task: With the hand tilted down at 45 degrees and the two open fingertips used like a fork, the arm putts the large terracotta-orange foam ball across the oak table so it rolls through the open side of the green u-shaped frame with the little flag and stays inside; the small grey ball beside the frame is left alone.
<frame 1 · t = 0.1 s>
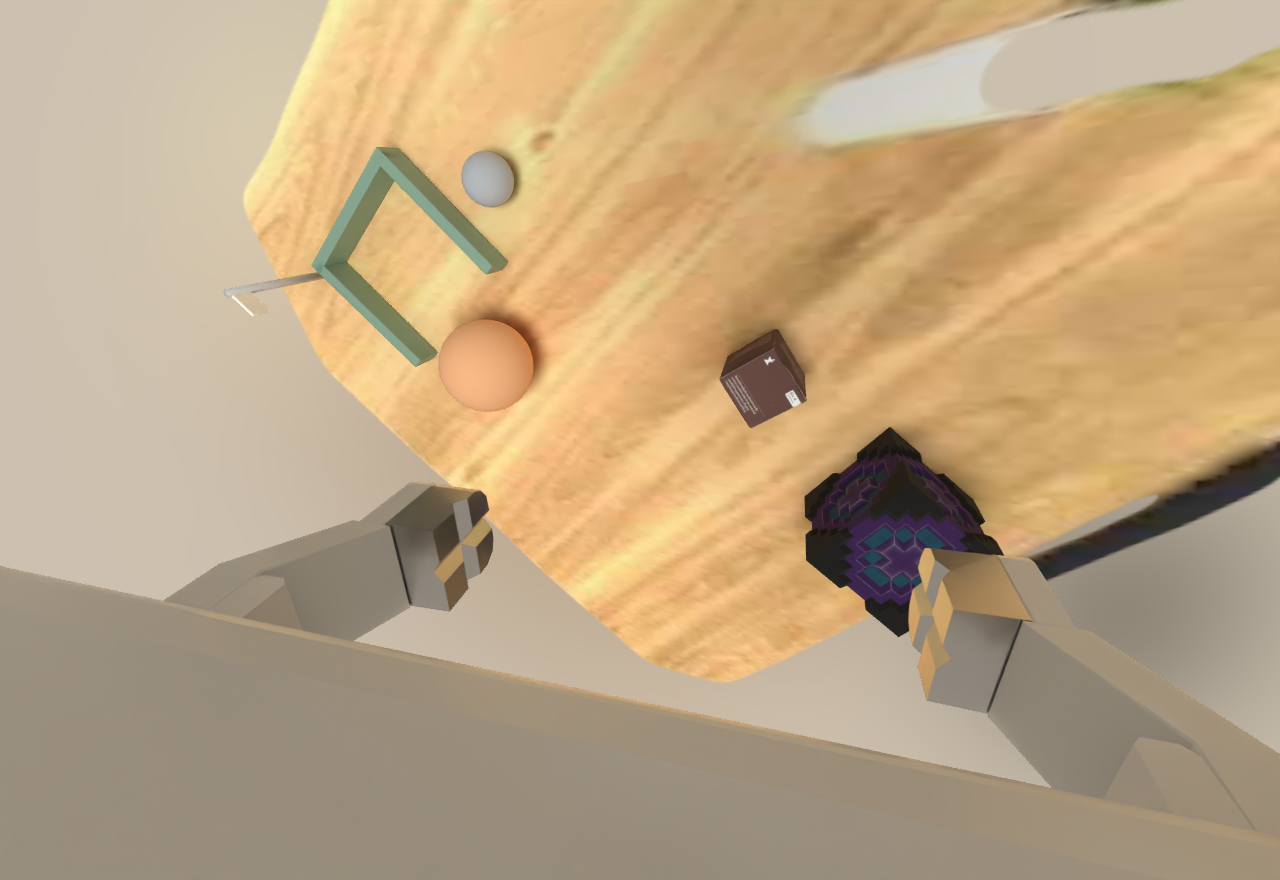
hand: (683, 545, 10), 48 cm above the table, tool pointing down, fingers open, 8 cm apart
energy cube: (885, 496, 60), on the table
box: (766, 365, 57), on the table
ball: (487, 366, 60), point 5 cm above the table
green u-shaped frame: (419, 263, 62), on the table
grey ball: (488, 179, 54), point 2 cm above the table
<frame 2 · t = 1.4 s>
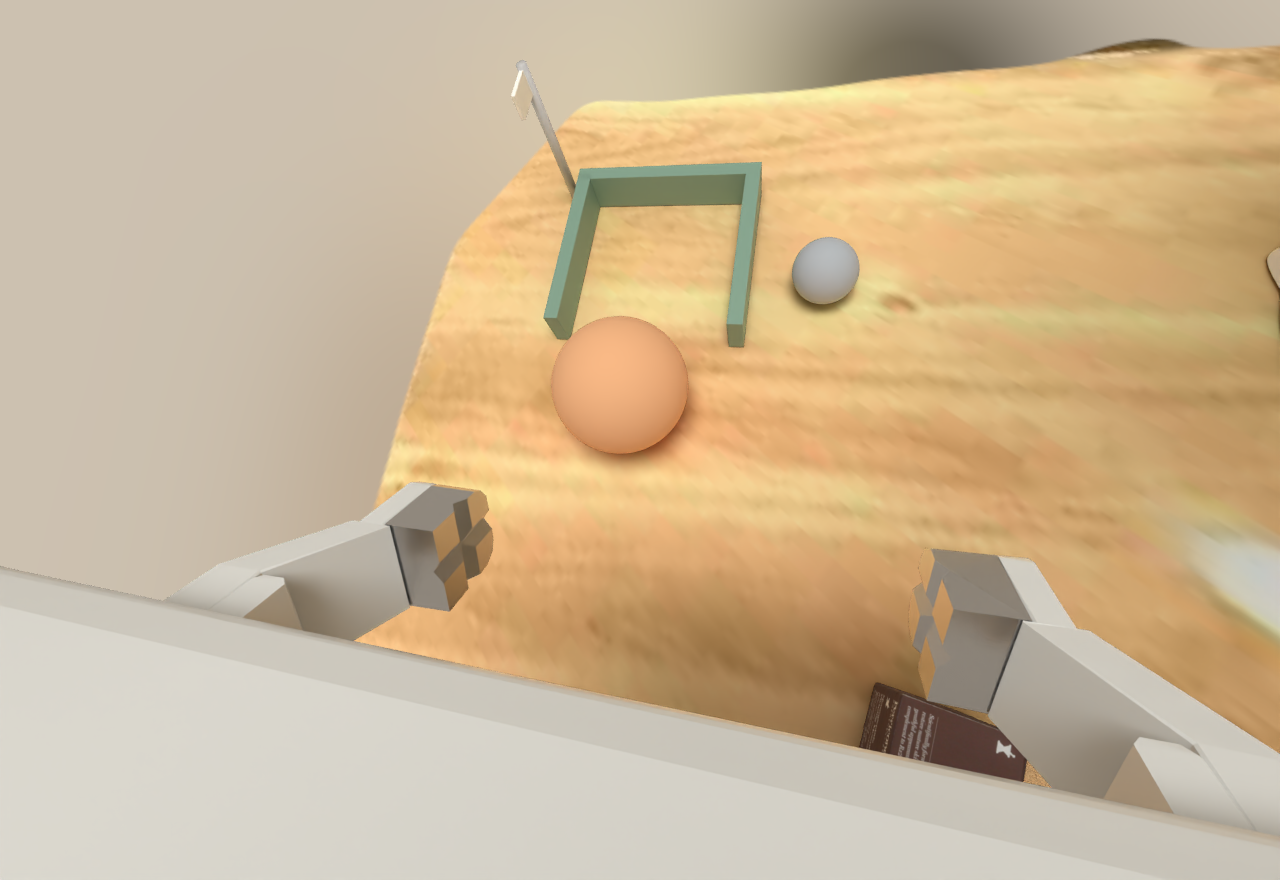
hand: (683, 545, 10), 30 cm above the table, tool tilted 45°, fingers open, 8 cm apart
box: (913, 749, 33), on the table
ball: (620, 385, 40), point 5 cm above the table
green u-shaped frame: (659, 268, 49), on the table
grey ball: (825, 271, 43), point 2 cm above the table
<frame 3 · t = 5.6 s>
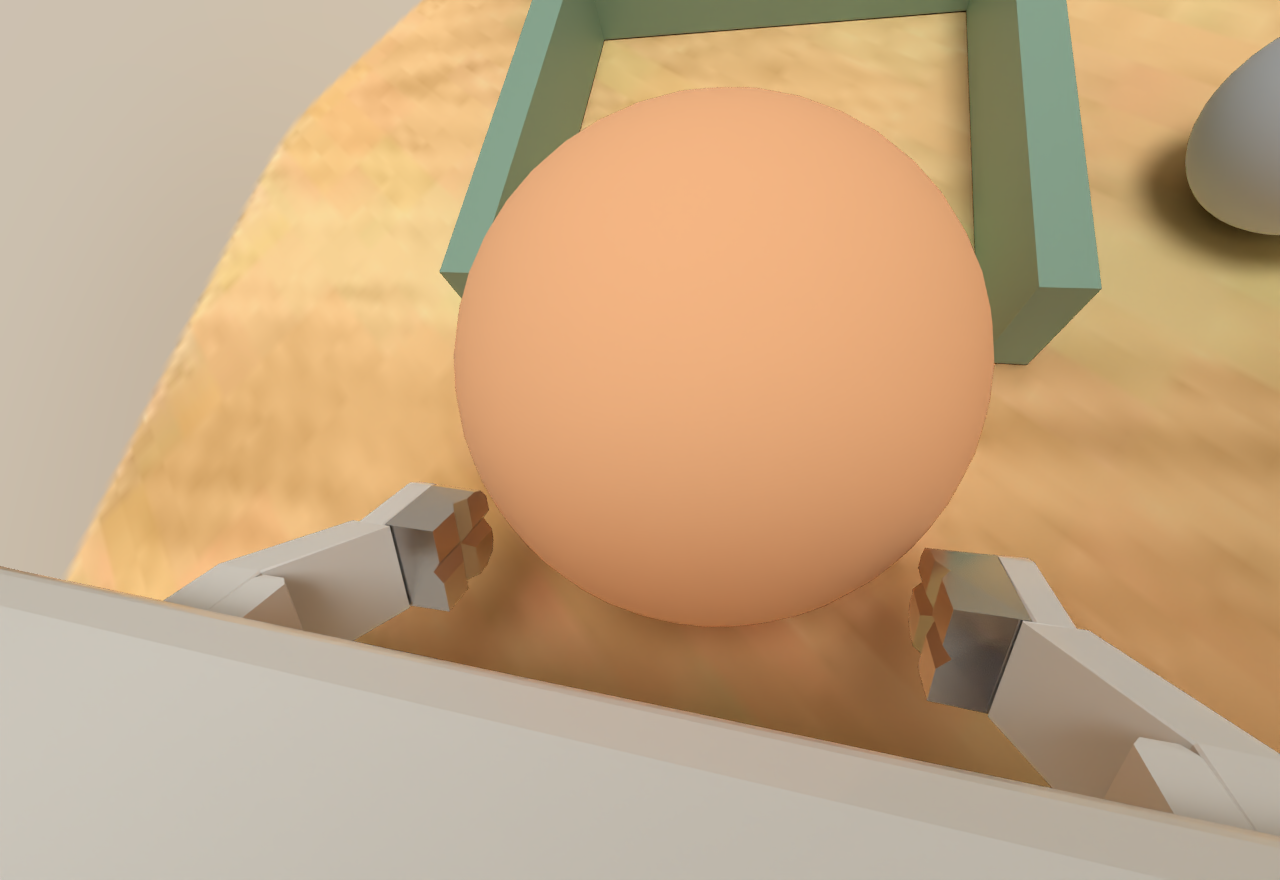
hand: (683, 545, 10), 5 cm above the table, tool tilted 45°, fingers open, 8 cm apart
ball: (707, 373, 11), point 5 cm above the table, tilted 34°
green u-shaped frame: (754, 161, 19), on the table
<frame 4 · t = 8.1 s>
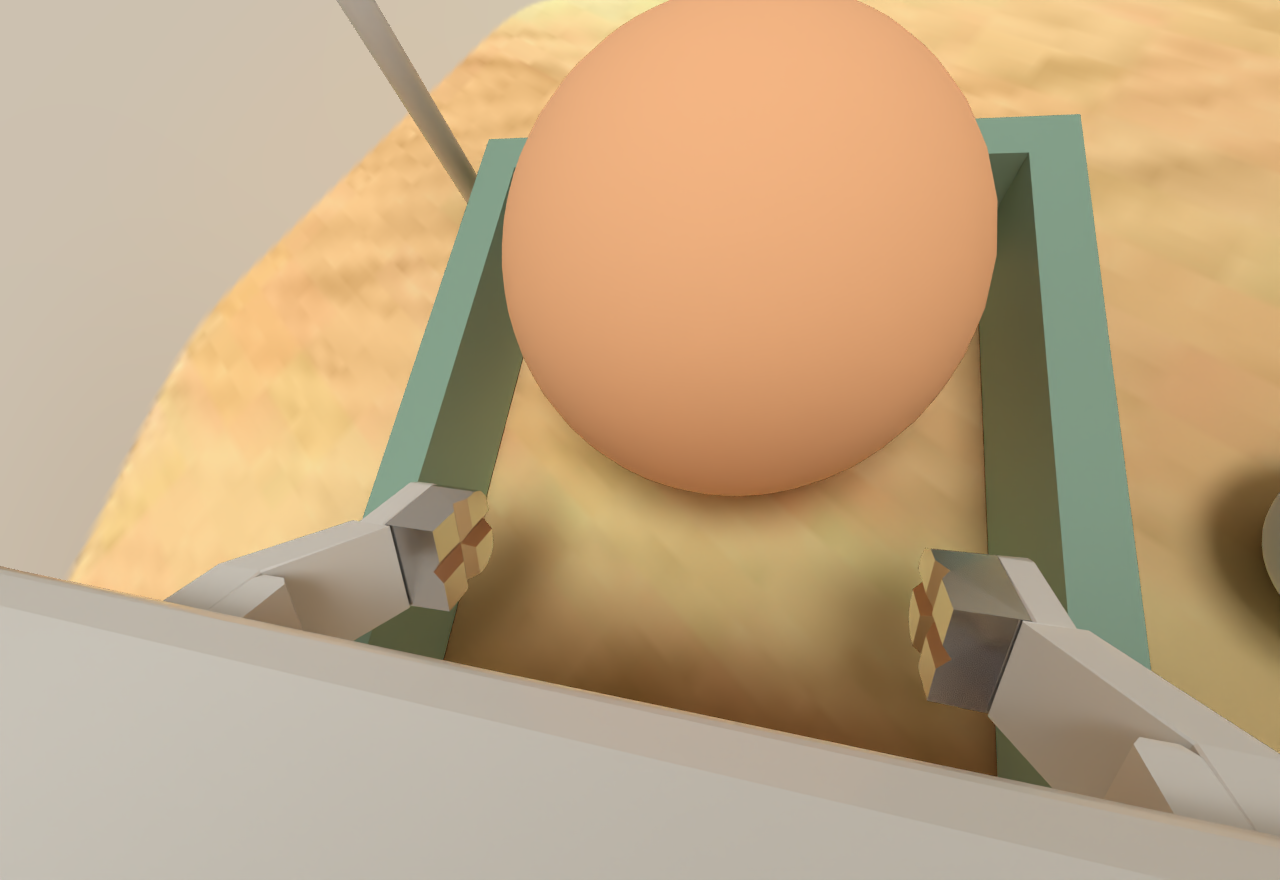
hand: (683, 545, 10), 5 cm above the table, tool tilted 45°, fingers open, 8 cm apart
ball: (731, 272, 12), point 5 cm above the table, tilted 174°
green u-shaped frame: (721, 438, 16), on the table
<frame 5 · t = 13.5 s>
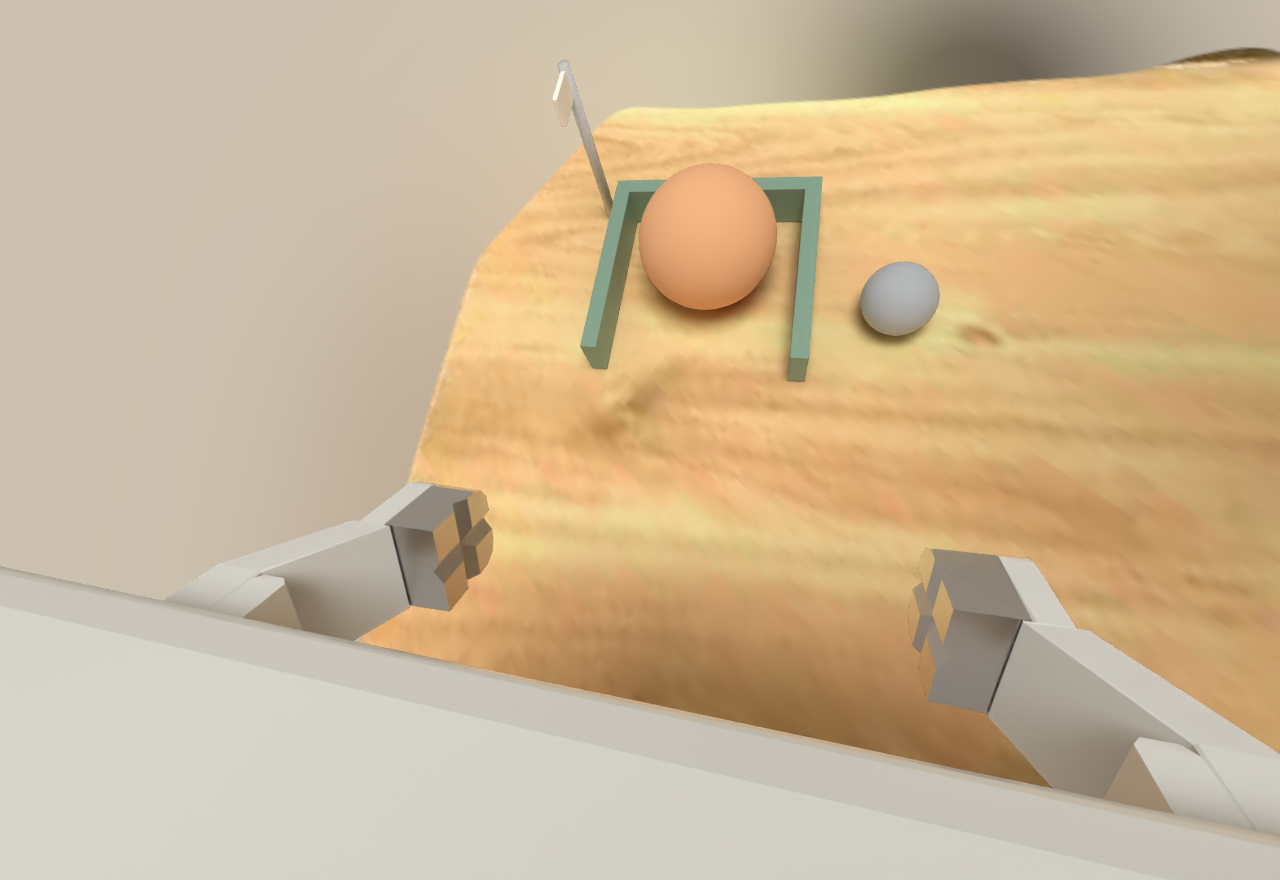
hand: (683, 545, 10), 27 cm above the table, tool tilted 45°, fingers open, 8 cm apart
ball: (706, 239, 40), point 5 cm above the table, tilted 171°
green u-shaped frame: (706, 291, 44), on the table
grey ball: (898, 299, 38), point 2 cm above the table
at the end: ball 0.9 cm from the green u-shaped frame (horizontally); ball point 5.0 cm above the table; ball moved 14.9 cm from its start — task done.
